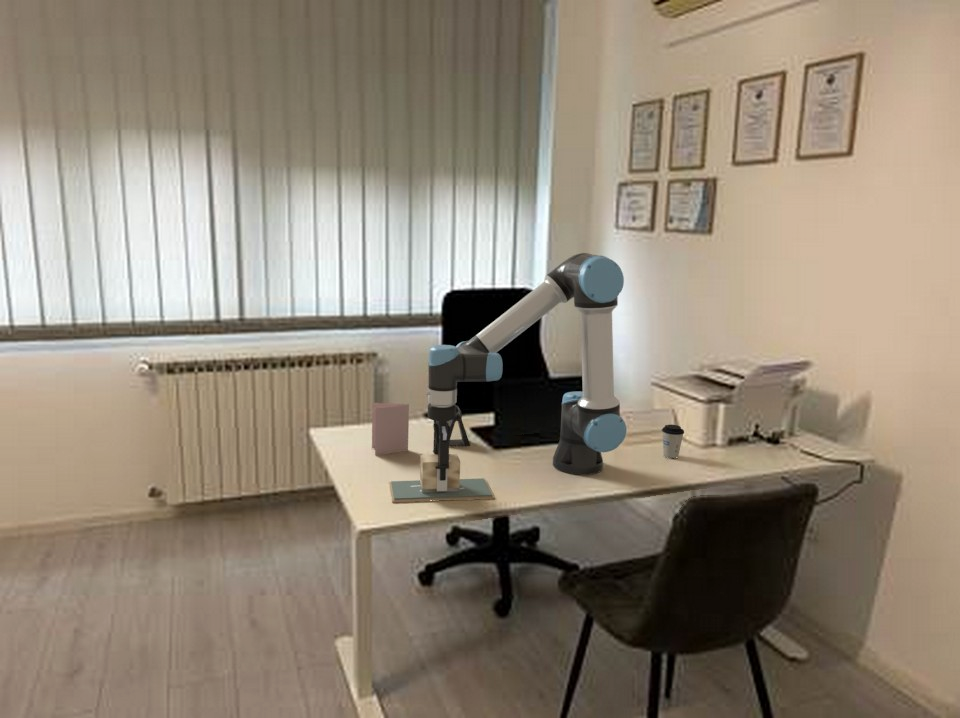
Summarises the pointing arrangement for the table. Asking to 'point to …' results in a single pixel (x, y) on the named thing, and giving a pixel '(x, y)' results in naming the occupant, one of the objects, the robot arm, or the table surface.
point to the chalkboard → (413, 492)
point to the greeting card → (390, 427)
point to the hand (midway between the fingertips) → (440, 485)
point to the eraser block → (430, 473)
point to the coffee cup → (672, 440)
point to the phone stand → (464, 440)
